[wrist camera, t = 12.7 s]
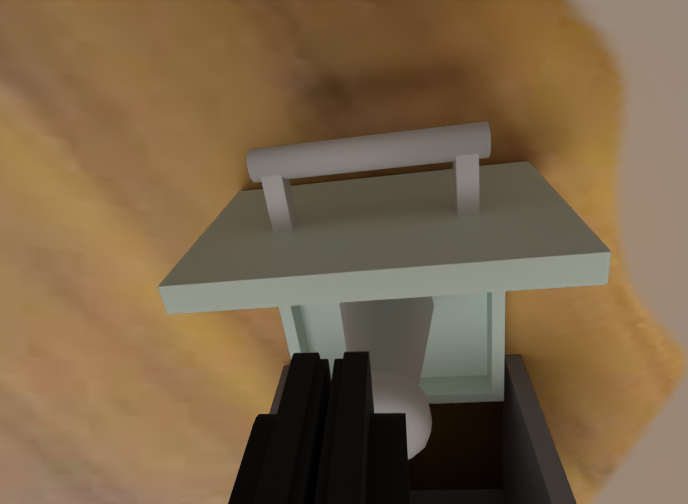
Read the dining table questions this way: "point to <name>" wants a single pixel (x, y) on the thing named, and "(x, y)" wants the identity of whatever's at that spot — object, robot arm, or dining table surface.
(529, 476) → the cabinet
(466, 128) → the drawer
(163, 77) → the dining table surface
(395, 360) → the salt shaker
